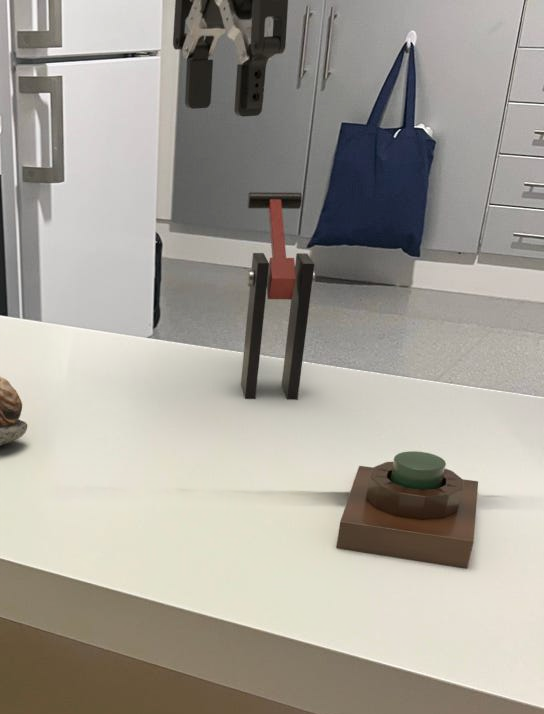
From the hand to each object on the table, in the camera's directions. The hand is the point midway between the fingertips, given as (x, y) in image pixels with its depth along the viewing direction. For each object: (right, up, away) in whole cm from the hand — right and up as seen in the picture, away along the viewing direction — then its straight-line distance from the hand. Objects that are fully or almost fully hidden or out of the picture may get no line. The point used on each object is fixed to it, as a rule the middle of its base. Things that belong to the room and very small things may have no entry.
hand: (221, 111), depth 87 cm
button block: (+12, -37, -10) cm, 40 cm away
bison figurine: (-23, -27, +5) cm, 36 cm away
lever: (+7, -8, +10) cm, 15 cm away
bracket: (+6, -22, +13) cm, 26 cm away
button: (+12, -34, -12) cm, 38 cm away
